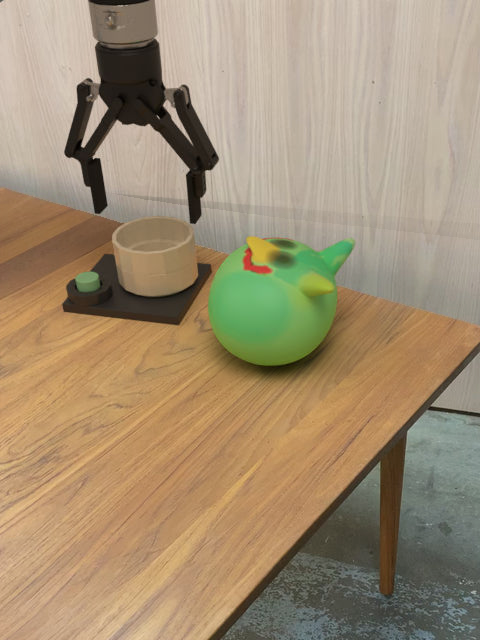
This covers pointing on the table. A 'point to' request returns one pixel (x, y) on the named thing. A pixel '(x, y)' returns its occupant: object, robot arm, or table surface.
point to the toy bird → (275, 298)
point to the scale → (131, 297)
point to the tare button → (87, 281)
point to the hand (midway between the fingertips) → (148, 214)
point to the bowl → (155, 255)
